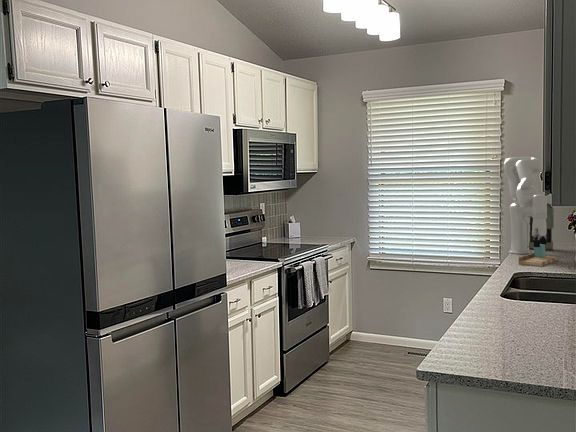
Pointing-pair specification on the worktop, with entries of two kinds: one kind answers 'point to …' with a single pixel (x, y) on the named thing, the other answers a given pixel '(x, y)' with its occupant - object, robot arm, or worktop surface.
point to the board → (535, 260)
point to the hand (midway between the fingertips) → (540, 246)
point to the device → (549, 228)
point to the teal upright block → (539, 251)
